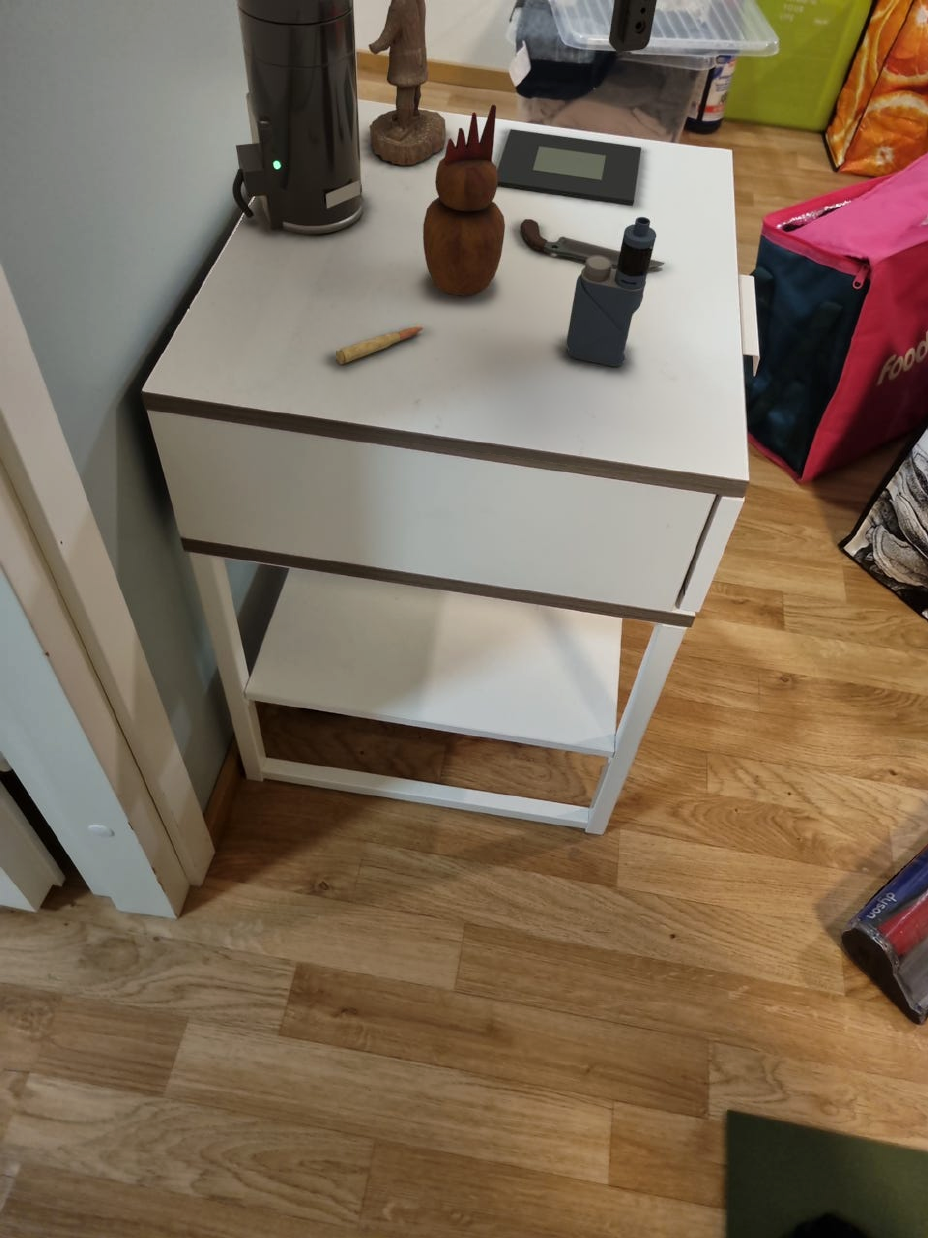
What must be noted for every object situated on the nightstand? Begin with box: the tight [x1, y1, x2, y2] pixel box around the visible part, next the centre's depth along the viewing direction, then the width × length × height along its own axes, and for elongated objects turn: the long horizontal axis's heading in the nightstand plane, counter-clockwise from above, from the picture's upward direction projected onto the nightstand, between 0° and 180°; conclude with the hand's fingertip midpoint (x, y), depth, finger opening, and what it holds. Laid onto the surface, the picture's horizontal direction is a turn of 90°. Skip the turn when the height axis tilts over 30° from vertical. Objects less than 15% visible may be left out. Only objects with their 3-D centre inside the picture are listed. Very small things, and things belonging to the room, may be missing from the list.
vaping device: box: [566, 216, 657, 368], centre depth 70 cm, size 3×5×12 cm, turn 74°
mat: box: [496, 128, 642, 206], centre depth 93 cm, size 14×11×1 cm
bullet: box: [335, 326, 424, 365], centre depth 74 cm, size 8×1×1 cm
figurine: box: [368, 0, 447, 166], centre depth 86 cm, size 9×8×20 cm
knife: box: [520, 218, 665, 270], centre depth 84 cm, size 14×4×1 cm, turn 69°
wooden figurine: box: [422, 104, 506, 296], centre depth 74 cm, size 7×6×15 cm
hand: (599, 17), depth 53 cm, fingers open, 8 cm apart
